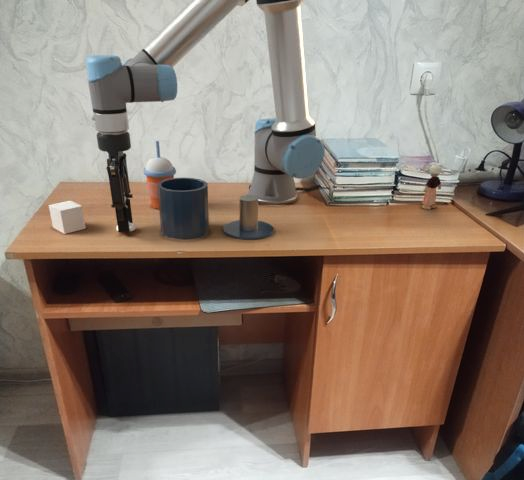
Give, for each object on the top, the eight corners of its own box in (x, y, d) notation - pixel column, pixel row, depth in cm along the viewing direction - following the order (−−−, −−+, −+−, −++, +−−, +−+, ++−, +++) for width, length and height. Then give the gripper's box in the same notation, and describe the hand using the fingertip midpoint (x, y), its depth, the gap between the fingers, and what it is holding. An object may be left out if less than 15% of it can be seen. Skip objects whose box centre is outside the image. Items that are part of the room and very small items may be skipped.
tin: (209, 224, 141) (207, 177, 134) (208, 241, 130) (207, 191, 123) (163, 224, 140) (160, 177, 133) (159, 241, 129) (155, 191, 123)
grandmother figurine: (427, 203, 161) (436, 161, 154) (439, 206, 159) (448, 163, 152) (415, 209, 156) (424, 165, 149) (427, 212, 154) (436, 168, 147)
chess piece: (129, 233, 131) (123, 193, 126) (112, 230, 133) (106, 191, 127) (139, 226, 135) (134, 188, 130) (123, 224, 137) (117, 186, 131)
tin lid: (271, 224, 142) (272, 190, 137) (275, 242, 131) (277, 206, 126) (223, 223, 141) (222, 189, 136) (223, 242, 130) (222, 205, 125)
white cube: (74, 222, 139) (70, 200, 136) (85, 228, 136) (82, 205, 132) (52, 227, 135) (48, 205, 132) (64, 234, 132) (60, 210, 129)
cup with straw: (171, 212, 148) (167, 145, 138) (141, 209, 149) (135, 143, 140) (182, 202, 155) (178, 139, 146) (153, 200, 157) (147, 136, 147)
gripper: (103, 124, 128) (116, 216, 141) (88, 139, 113) (104, 241, 126) (134, 124, 129) (144, 215, 142) (123, 139, 114) (135, 240, 127)
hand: (125, 227), depth 134 cm, fingers closed on chess piece, 5 cm apart
